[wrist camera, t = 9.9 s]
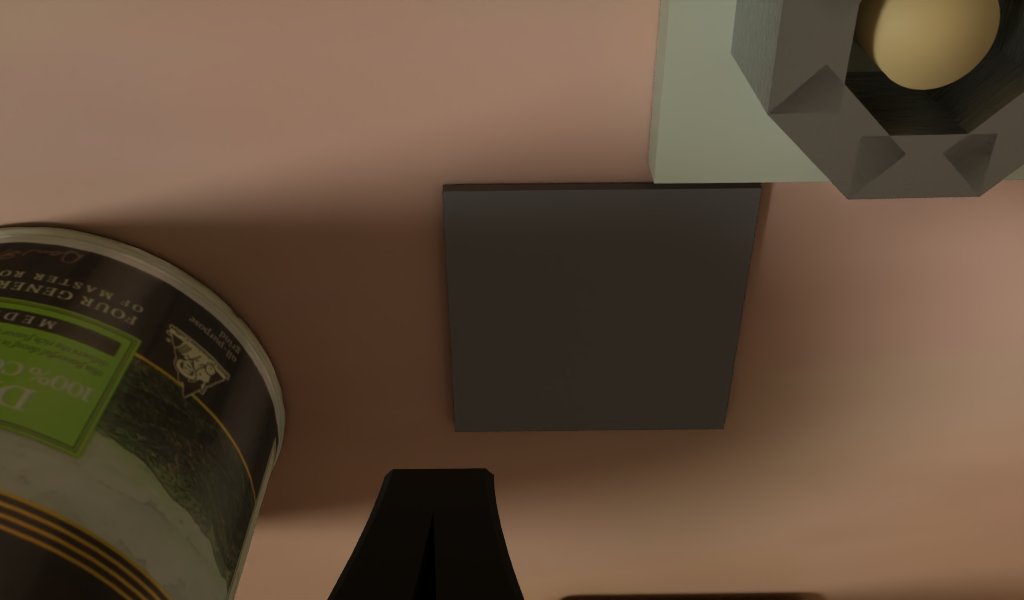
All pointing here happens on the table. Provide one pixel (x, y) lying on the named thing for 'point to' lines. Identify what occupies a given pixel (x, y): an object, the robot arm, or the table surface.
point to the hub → (739, 114)
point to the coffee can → (125, 425)
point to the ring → (883, 104)
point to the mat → (596, 303)
